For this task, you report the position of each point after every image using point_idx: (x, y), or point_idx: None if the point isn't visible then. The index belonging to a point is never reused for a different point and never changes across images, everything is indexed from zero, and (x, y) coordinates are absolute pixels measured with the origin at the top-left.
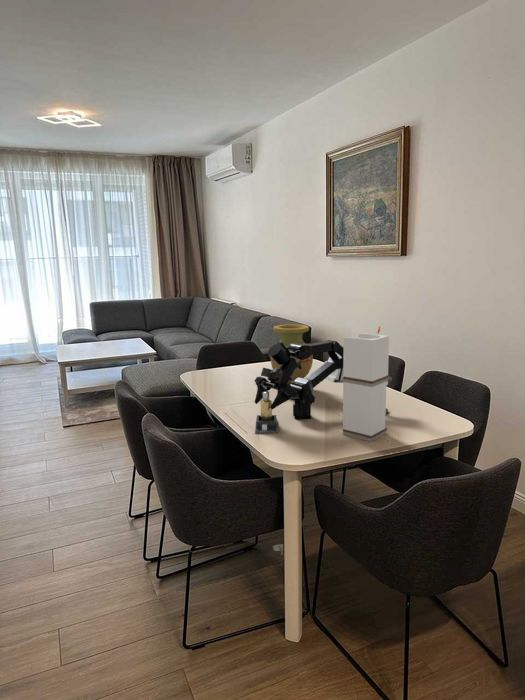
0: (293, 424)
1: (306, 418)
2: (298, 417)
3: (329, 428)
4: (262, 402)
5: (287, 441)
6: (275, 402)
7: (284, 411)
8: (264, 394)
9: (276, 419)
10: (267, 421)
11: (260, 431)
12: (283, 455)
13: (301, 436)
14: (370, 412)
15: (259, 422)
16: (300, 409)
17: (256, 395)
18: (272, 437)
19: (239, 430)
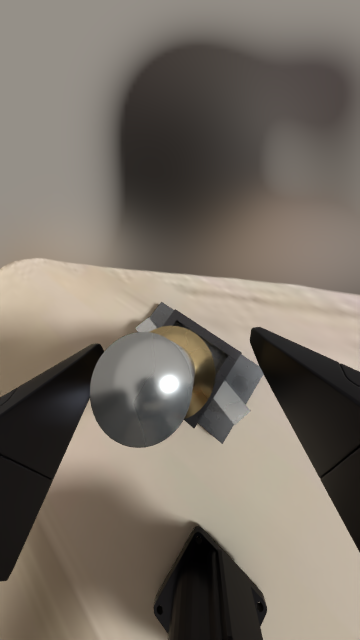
0: (152, 462)
1: (166, 579)
2: (191, 551)
3: (32, 549)
4: (165, 331)
5: (64, 341)
6: (45, 376)
7: (336, 589)
8: (131, 340)
9: (213, 432)
10: None
11: (152, 314)
12: (23, 287)
13: None
14: None
15: (168, 319)
16: (183, 637)
17: (311, 352)
18: (110, 326)
19: (210, 282)
